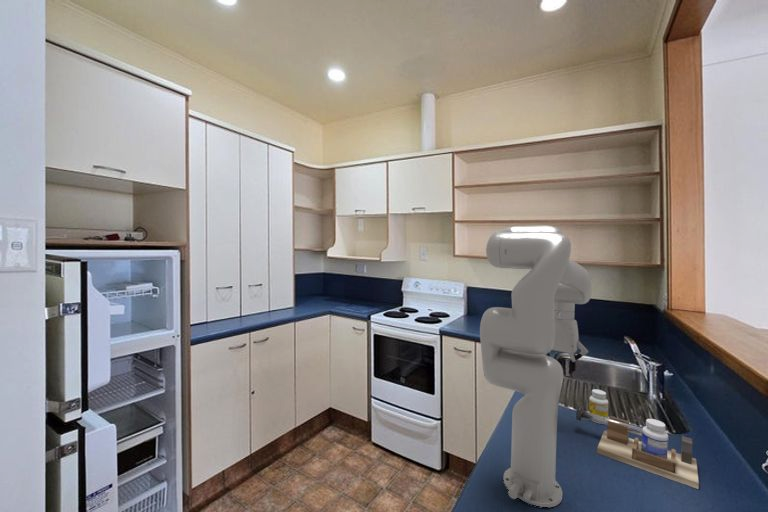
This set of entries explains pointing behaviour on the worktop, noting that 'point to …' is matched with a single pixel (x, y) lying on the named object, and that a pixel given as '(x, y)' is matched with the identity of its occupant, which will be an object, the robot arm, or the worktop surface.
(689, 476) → the shaft bracket
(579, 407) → the steel shaft
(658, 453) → the pill bottle
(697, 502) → the worktop surface
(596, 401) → the supplement bottle
